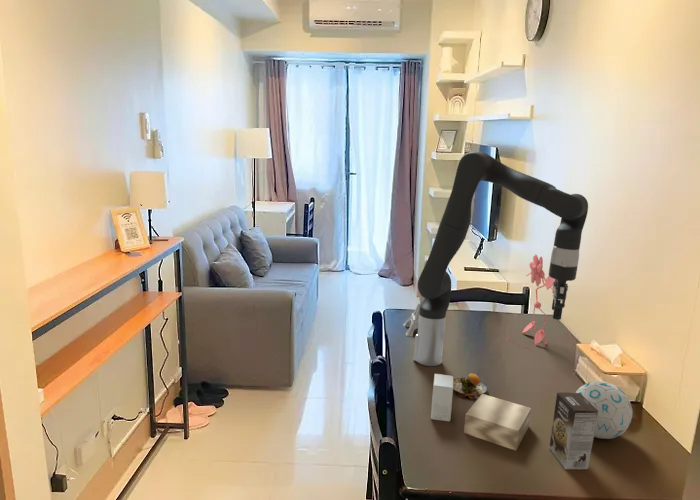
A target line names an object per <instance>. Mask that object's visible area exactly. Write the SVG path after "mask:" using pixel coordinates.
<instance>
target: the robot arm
mask: <svg viewBox="0 0 700 500" xmlns="http://www.w3.org/2000/svg"><path fill="white" fill-rule="evenodd" d="M482 181H483V182H489V183H492V184H496V185H498V186H501V187H503V188H505V189H506V190H509V191H510V192H511V193H513V194H514V195H516V196H517V197H520V198H521V199H523V200H525V201H527V202H529V203H531V204H534V205H535V206H539V207H541V208H544V209H545V210H547V211H548V212H550V213H552V214H554V215H555V216H557V217H560V218H561V219H560V223H559V226H558V227H557V229H556V230H555V236H554V241H553V247H552V252H551V256H550V262H549V269H548V276H550V277H551V278H554V279H555V282H553V286H552V288H553V290H552V298H553V299H552V302H551V303H552V304H551V309H552V311H553V312H552V313H553V314H552V319H553V320H559V321H560V320H561V319H562V316H563V315H562V314H563V309H564V308H565V306H566V304H565V303H566V300H567V294H568V293H567V292H568V291H569V286H568V283H567V282H568V281H570V282H572V281H575V280H576V278H577V271H578V265H579V260H580V259H579V258H580V247H581V242H582V233H583V229H584V226H585V223H586V221H587V216H588V212H589V203H588V199H587V198H586V197H585V196H584V195H582V194H580V193H571V194H570V193H567V192H564V191H562V190H560V189H558V188H556V186H554V185H553V184H551V183H549V182H546V181H544V180H542V179H539V178H537V177H533V176H531V175H529V174H526V173H523V172H521V171H518V170H516V169H514V168H511V167H510V166H508V165H506V164H504V163H502V162H501V161H499V160H498V159H496V158H494V157H493V156H491V155H489V154H488V153H486V152H485V151H470V152H467V153H465V154H464V155H463V156H462V157H460V159H459V162H458V164H457V167H456V173H455V177H454V180H453V185H452V189H451V193H450V196H449V197H448V200H447V203H446V207H445V209H444V213H443V214H442V216H441V220H440V221H439V225H438V228H437V231H436V234H435V238H434V241H433V244H432V246H431V250H430V252H429V255H428V259H426V260H427V262H426V264H425V267H424V266H423V267H424V268H423V269H422V271H421V273H420V276H419V277H418V280H417V290H418V292H419V295H420V294H421V296H422V297H424V298H425V299H424V301H423V303H422V304H421V306H420V309H419V322H418V327H417V333H416V334H415V336H414V349H413V359H412V360H413V361H415V362H416V363H418V364H419V365H422V366H426V367H427V366H428V367H436V366H439V365H441V364H442V362H443V352H444V342H445V341H444V340H445V329H446V319H447V317H446V316H447V311H448V310H449V306H450V300H451V292H452V279H451V276H450V274H449V273H448V271H447V269H448V267H449V264H451V261H452V260H453V258H454V257H455V256H456V254H457V253H458V252H459V250H460V248H461V247H462V245H463V243H464V242H465V239H466V237H467V234H468V232H469V228H470V226H471V222H472V221H471V220H472V203H473V198H474V195H475V192H476V190H477V188H478V185H479V183H480V182H482Z"/></svg>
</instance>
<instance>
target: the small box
mask: <svg viewBox="0 0 700 500" xmlns="http://www.w3.org/2000/svg"><path fill="white" fill-rule="evenodd" d="M433 374H434V376H433V384H432V385H433V387H432V398H431V409H430V410H431V411H430V420H435V421H443V422H451V419H452V417H451V415H452V408H453V407H452V405H453V397H454V396H453V395H454V394H453V393H454V390H453V380H454V375H448V374H441V373H433Z"/></svg>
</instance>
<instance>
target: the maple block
mask: <svg viewBox="0 0 700 500" xmlns="http://www.w3.org/2000/svg"><path fill="white" fill-rule="evenodd" d="M531 413H532V408H531V407H528V406H525V405H521V404H519V403H515V402H512V401H507V400H505V399H502V398H498V397H495V396H491V395H489V394H487V395H485V394H481V396H480V397H479V398H477V399H476V401H474V402H473V404H472V405H471V406H470V408H469V409H468V410H467V411H466V413H465V417H464V428H463V433H464V434H465V435H469V436H472V437H474V438H478V439H481V440H483V441H485V442H489V443H492V444H494V445H495V444H496V445H498V446H501V447H504V448H508V449H509V450H513V451H517V450H518V448H519V446H520V444H521V442H522V440H523V438H524V437H525V435H526V433H527V431H528V429H529V427H530V421H531Z"/></svg>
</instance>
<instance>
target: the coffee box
mask: <svg viewBox="0 0 700 500" xmlns="http://www.w3.org/2000/svg"><path fill="white" fill-rule="evenodd" d="M597 415H598V410H597V409H596V408H595V407H594V406H593V405H592V404H591V403H590V402H589V401H588V400H587V399H586V398H585V397H584V396H582V395H581V394H580V393H575V392H570V391H569V392H556V398H555V404H554V413H553V420H552V426H551V434H550V441H549V450H550V451H551V452H552V454H553V455H554V457H555V458H556V459H557V460H558V463H560V465H561V466H562V467H563V469H565V470H589V466H590V459H591V454H592V449H593V443H594V438H595V437H594V433H595V427H596V421H597Z"/></svg>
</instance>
